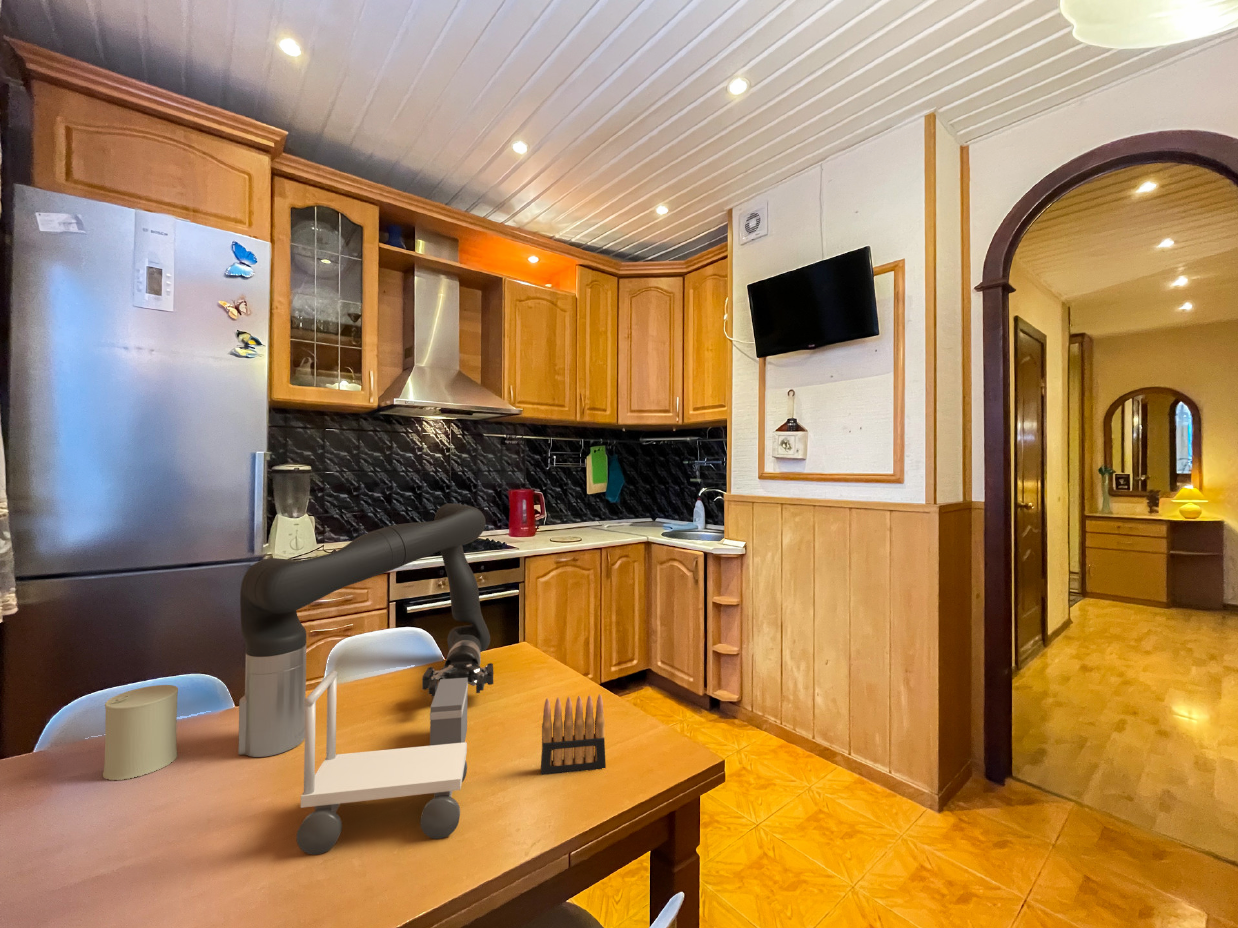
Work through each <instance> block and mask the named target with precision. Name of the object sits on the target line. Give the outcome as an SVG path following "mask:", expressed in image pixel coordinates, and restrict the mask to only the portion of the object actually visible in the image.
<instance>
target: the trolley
mask: <svg viewBox="0 0 1238 928" xmlns="http://www.w3.org/2000/svg"><path fill="white" fill-rule="evenodd" d="M338 673H339V672H338V671H337V670H330V672H328V674H327V675H326V676H325V677H324V678H323V679H322V680H321V682H320V683H318V684H317V686H316V687H315V688H314V689H313V690H312V691H311V692H310V693H309V694H308V696H307V697H306V699H305V700H304V705H305V738H304V748H303V749H304V750H303V751H304V753H303V754H304V755H303V760H304V762H303V763H304V764H303V792H302V793H301V795H300V808H301V809H302V808H310V807H314V811H312V812H310V813H309V814H308V815H307V816H305V818H304V819H303V821H302V822H301V824H300V826H299V827H298V830H297V832H296V843H297V847H299V849H300V850H301V851H303V852H304V853H305V854H307V855H308V854H309V855H316V856H317V855H321V854H324V853H327V852H328V851H330V850H331V849H332V848H333V847H334V846H335V845H336V843H337V842H338V840H339V837H340V835H341V832H342V830H343V821H342V820H341V819H342V818H341V817H340V815H339V814H337V811H338V808H340V807H339V806H340V805H341V804H347V803H356V802H364V801H373V800H382V799H392V798H399V797H407V796H410V797H411V796H418V795H419V796H420V795H427V794H434V795H433V796H434V797H433V798H432V799H430V800H429V801H428V802H427V803H426V804H425V806H424V807H423V810H422V813H421V817H420V821H419V822H420V823H419V824H420V828H421V830H422V832H423V834H424V835H425V836H426V837H428V838H430V839H434V840H440V839H444V838H448V837H449V836H450V835H452V834H453V833H454V832H455V830H456V829H457V828H458V825H459V822H460V817H461V808H460V805H459V803H458V801H457V800H456V799H455V798H453V797H452V794H453V791H461V789H462V784H463V782H464V781H465V779H466V776H467V773H468V772H467V771H468V763H467V760H466V758H467V754H468V753H467V752H468V744H467V743H468V742H466V741H465V742H464V743H453V744H442V745H432V746H430V745H424V746H412V747H403V748H402V747H401V748H391V749H381V750H371V751H370V750H369V751H359V752H349V753H337V754H336V750H337V748H336V743H337V742H336V741H337V738H336V737H337V684H338V683H337V678H338V676H339V674H338ZM326 690H327V691H326ZM325 691H326V698H327V699H326V751H325V753H326V756H325V759H324V760H323V762H322V763H321V764H320V766H319V768H318V770H317V771H316V770H315V769H316V768H315V767H316V766H315V765H316V763H315V762H316V714H317V713H316V711H317V710H316V704H317V703H316V702H317V701H318V699H319V698H320V697H321V696H322V694H324V692H325ZM315 771H316V773H315Z"/></svg>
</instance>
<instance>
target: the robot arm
mask: <svg viewBox="0 0 1238 928" xmlns="http://www.w3.org/2000/svg"><path fill="white" fill-rule="evenodd" d="M485 527H486V516H485V515H484V514H483V512H482V511H481V510H480V509H478V508H476V507H474V506H472V505H465V504H459V503H445V504H443V505H442V506H440V507H439V508H438V509H437V511H436V512H435V516H434V520H429V521H422V522H421V521H420V522H408V523H401V524H400V523H399V524H392V525H389V526H385V527H382V528H379V529H375V530H372V531H369V532H366V533H364V534H362V535H359V536H358V537H357V538H355V539H353V540H351V542H349V543H347V544H345V546H344V547H341V548H340V549H338V550H336V551H335V550H334V551H333V552H330V553H327V554H323V555H320V556H319V555H318V556H316V557H310V558H307V559H305V558H304V559H299V560H291V559H290V560H289V559H286V558H285V559H283V558H278V557H277V558H276V557H269V558H265V559H261V560H259V561H257V562H255V563H254V564H252V565H251V566H250V567H249V568H248V569H247V571H246V572H245V574H243V578H242V581H241V585H240V592H239V593H240V594H239V596H240V597H239V604H240V605H239V607H240V608H239V609H240V611H239V612H240V631H241V637H242V638H243V640H244V641H243V642H244V643H245V670H244V671H245V678H244V679H245V680H244V695H243V696H242V697H241V698H240V699H239V701H238V702H239V703H238V706H239V707H238V747H237V751H238V752H237V753H238V756H239V755H240V756H241V755H245V756H248V757H253V758H262V757H270V756H275V755H279V754H282V753H285V752H288V751H289V750H292V749H294V748H295V747H297V746H299V745H300V744H302V742H303V741H305V705H304V700H305V699H306V698H307V697H306V690H307V689H306V688H307V630H306V628H305V627H304V625H303V624H302V622H301V621H300V619H299V616H298V612H297V611H299V610H301V609H302V608H304V607H307V606H309V605H311V604H312V603H315V602H317V601H319V600H321V599H323V598H324V597H326V596H328V595H330V594H332V593H334V592H336V591H339V590H340V589H343V588H345V587H348V586H351V585H354V584H357V583H360V582H364V581H366V580H369V579H371V578H373V577H376V576H379V575H382V574H385V573H389V572H391V571H394V570H396V569H399V568H401V567H403V566H405V565H408V564H410V563H413V562H415V561H418V560H421V559H423V558H426V557H428V556H431V555H433V554H436V553H438V552H440V554H441V557H442V561H443V564H444V568H445V572H446V577H447V582H448V586H449V587H448V588H449V596H450V605H451V615H452V618H453V619H454V620H455V621H458V622H462V623H463V622H464V623H469V624H467V625H461V626H460V625H459V626H455V627H454V628H452V629H451V630H450V631H449V632H448V635H447V645H448V647H447V648H448V650H449V651H448V654H447V657H446V659H445V663H444V665H443V667H441V669H440V670H435V669H434V667H433V666H430V667H427V669H426V670H425V672H424V673H423V676H422V679H421V682H422V683H421V684H422V686H421V690H424V691H425V690H428V693H427V694H428V695H431V697H433V698H434V696H435V693H436V690H437V687H438V685H439V682H440V679H454V678H468V685H470V686H472V687H474V686H475V694H480V693H481V691H484V687H485V685H486V684H487V685H489V686H491V685H494V671H495V670H494V663H492V662H489V663H487V664H486V665H485V666H484V667H481V653H482V652H485V651H486V650H487V649H488V648H489V646H490V642H491V635H490V631H489V628H488V627H487V623H486V621H485V619H484V617H483V614H482V610H481V604H480V603H481V601H480V590H479V585H478V581H477V579H476V577H475V575H474V572H473V570H472V568H471V567H470V565H469V562H468V560H467V558H466V554H465V552H464V548H463V545H467V544H470V543H473V542H474V541H476V540H477V539H479V537H480V536H481V535H482V534H483V533H484V531H485Z"/></svg>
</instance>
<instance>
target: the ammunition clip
mask: <svg viewBox="0 0 1238 928" xmlns="http://www.w3.org/2000/svg"><path fill="white" fill-rule="evenodd" d="M592 699H593V698H592V696H591V695H590V694H589V695H588V697H587V699H586V704H585V705H586V706H585V717H584V712H583V710H584V709H583V708H584V707H583V701H582V698H581V696H580V695H578V697H577V698H576V703H575V713H574V716H575V717H574V718H573V704H572V703H573V702H572V700H571V697H570V696H568V697H567V699H566V702H565V709H564V721H563V716H562V715H563V714H562V711H563V710H562V703H561V699H560V698H559V697H557V698H556V701H555V704H554V710H553V711H554V713H553V714H554V715H553V722H552V709H551V703H550V700H549V698H548V697H547V698H546V699H545V701H544V706H543V716H542V724H541V755H540V756H541V757H540V759H541V760H540V775H541V776H545V775H546V776H547V775H556V774H565V773H566V774H567V772H568V773H577V772H586V770H588V771H596V769H598V770H603V769H602V768H605V769H606V768H607V767H606V766H607V763H606V745H605V744H606V742H605V739H606V738H605V716H604V702H603V697H602V695H601V694H598V696H597V698H596V699H597V700H596V708H595V709H596V711H595V719H594V704H593V700H592ZM584 718H585V719H584Z"/></svg>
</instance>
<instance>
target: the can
mask: <svg viewBox="0 0 1238 928" xmlns="http://www.w3.org/2000/svg"><path fill="white" fill-rule="evenodd" d="M178 693H179V687H178V686H176V685H174V684H171V685H170V684H159V685H157V684H156V685H150V686H145V687H140V688H135V689H131V690H128V691H124V692H122V693H120V694H117V695H114V696H112V697H111V698H109V699H108V700H107V701H106V702H105V703H104V706H105V710H104V711H105V720H104V721H105V723H104V724H105V733H104V735H105V736H104V741H105V742H104V745H105V746H104V766H103V773H102V777H103V778H104V779H105V780H107V779H109V780H108V781H114V780H117V781H125V780H124V779H127V780H131V779H130V778H132V779H135V778H134V777H137V776H141V777H143V776H142V775H144V774H147V775H149V774H148V773H150V772H153V773H154V771H155V772H157V771H159V769H160V770H162V769H163V767H164V768H166V767H167V766H169V765H170V764H171V762H172V763H173V762H174V761H175V760H176V759H177V757H178V750H177V729H178V728H177V727H178V726H177V723H178V695H179V694H178ZM165 766H166V767H165ZM161 768H162V769H161ZM156 770H157V771H156ZM150 774H151V773H150ZM144 776H145V775H144ZM137 778H138V777H137Z"/></svg>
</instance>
